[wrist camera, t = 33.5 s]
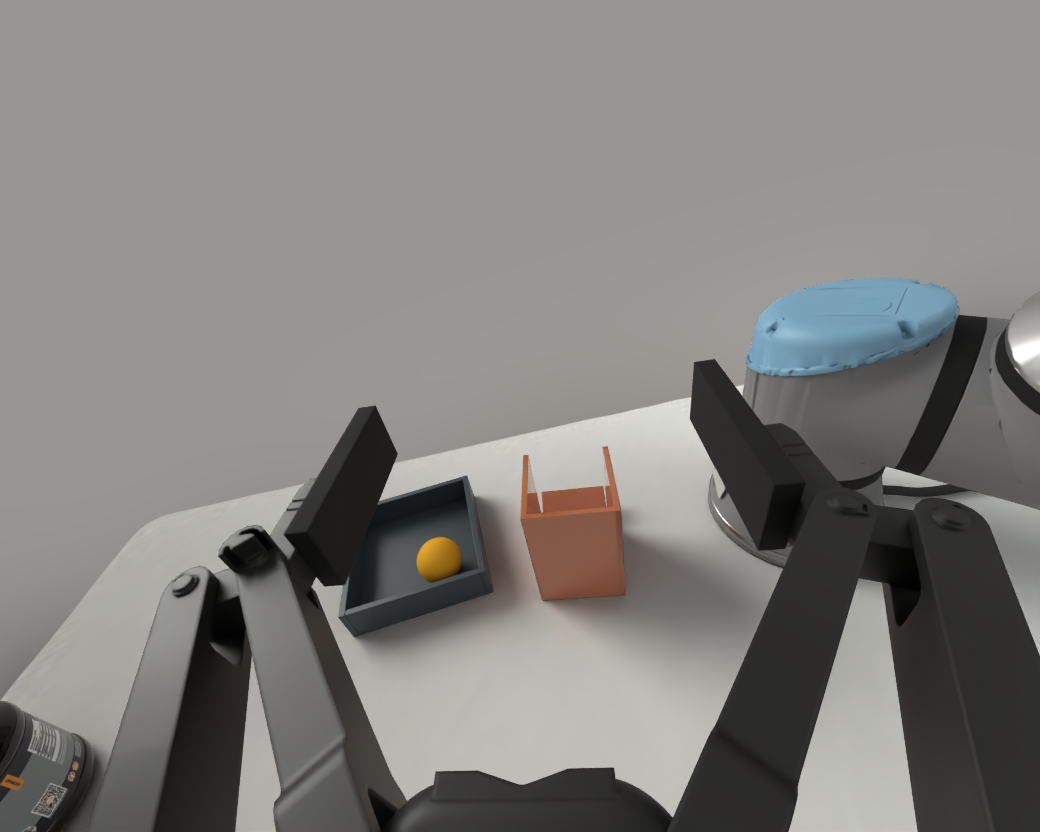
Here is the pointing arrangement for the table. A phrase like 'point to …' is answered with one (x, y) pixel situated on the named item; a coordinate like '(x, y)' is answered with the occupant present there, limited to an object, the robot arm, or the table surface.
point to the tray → (414, 558)
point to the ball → (439, 559)
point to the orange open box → (574, 538)
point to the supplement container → (40, 772)
